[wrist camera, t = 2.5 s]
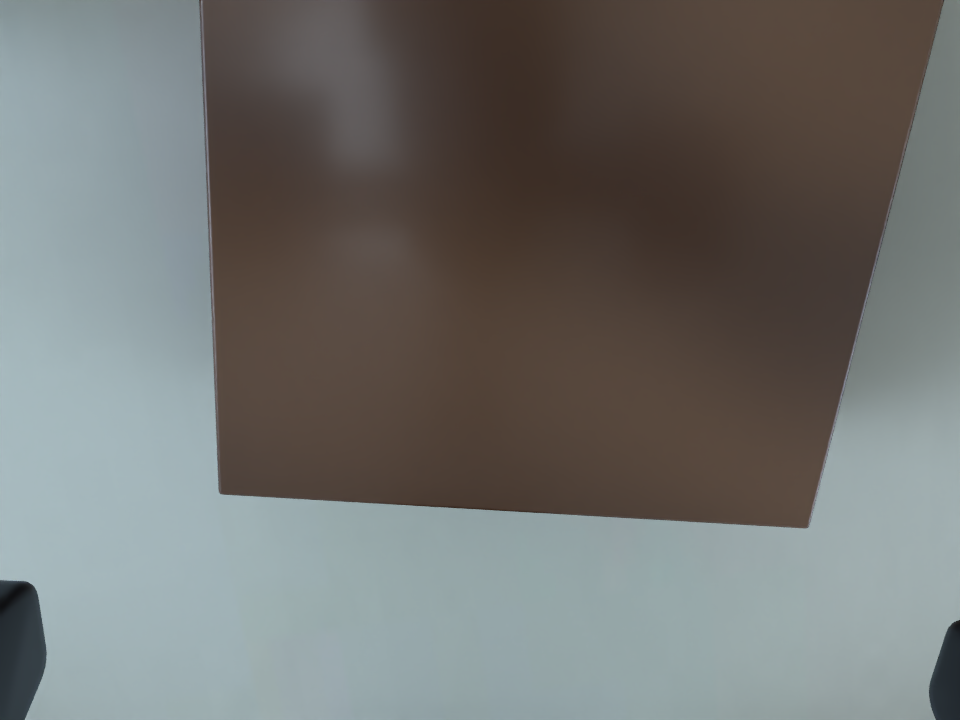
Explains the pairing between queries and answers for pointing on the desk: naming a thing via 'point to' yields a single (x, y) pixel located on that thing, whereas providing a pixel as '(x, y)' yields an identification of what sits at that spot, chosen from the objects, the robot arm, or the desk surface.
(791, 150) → the drawer unit
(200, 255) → the desk surface
